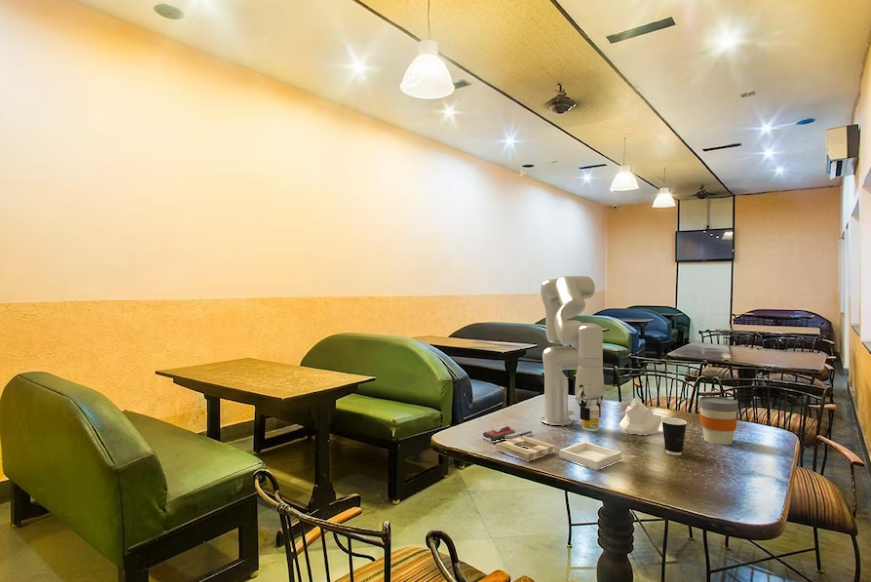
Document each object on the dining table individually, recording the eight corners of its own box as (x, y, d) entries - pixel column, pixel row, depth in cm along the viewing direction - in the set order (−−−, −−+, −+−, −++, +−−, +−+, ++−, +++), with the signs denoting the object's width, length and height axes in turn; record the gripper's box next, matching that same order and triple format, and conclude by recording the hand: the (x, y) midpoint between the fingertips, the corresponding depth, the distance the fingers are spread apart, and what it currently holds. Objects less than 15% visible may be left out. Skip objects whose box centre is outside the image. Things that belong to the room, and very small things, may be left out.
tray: (584, 449, 166) (584, 441, 166) (621, 460, 155) (621, 452, 155) (559, 458, 157) (559, 449, 157) (597, 471, 146) (597, 461, 146)
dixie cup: (686, 458, 157) (686, 425, 157) (660, 454, 161) (660, 421, 161) (687, 451, 164) (687, 419, 164) (661, 447, 168) (662, 416, 168)
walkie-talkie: (496, 446, 170) (533, 436, 182) (496, 434, 170) (533, 424, 182) (479, 440, 177) (516, 430, 189) (479, 428, 177) (516, 419, 189)
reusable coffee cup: (698, 442, 173) (699, 401, 173) (698, 433, 184) (698, 394, 184) (739, 448, 167) (739, 405, 167) (736, 438, 178) (736, 398, 178)
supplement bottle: (585, 425, 160) (585, 396, 160) (601, 428, 156) (601, 398, 156) (579, 428, 156) (579, 399, 156) (595, 431, 152) (595, 401, 152)
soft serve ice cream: (658, 442, 178) (654, 407, 176) (617, 439, 187) (611, 405, 184) (662, 426, 189) (658, 392, 186) (622, 423, 197) (618, 391, 194)
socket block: (523, 442, 173) (523, 435, 173) (555, 453, 162) (555, 445, 162) (496, 450, 164) (496, 443, 164) (527, 462, 154) (527, 454, 154)
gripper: (595, 359, 164) (595, 412, 164) (564, 364, 154) (564, 420, 154) (615, 361, 158) (615, 416, 158) (585, 366, 148) (585, 425, 148)
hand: (590, 417), depth 156 cm, fingers closed on supplement bottle, 5 cm apart
